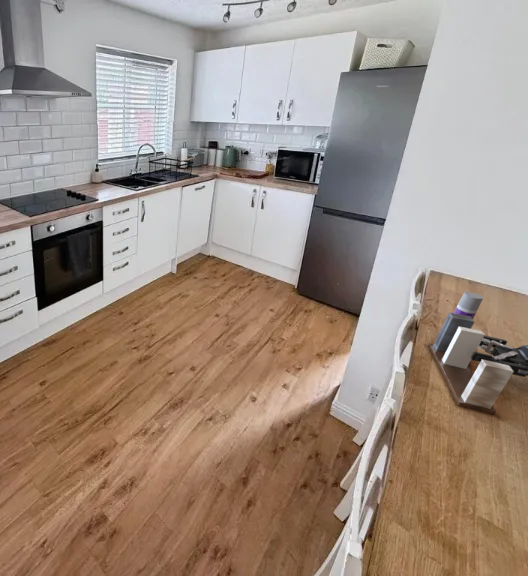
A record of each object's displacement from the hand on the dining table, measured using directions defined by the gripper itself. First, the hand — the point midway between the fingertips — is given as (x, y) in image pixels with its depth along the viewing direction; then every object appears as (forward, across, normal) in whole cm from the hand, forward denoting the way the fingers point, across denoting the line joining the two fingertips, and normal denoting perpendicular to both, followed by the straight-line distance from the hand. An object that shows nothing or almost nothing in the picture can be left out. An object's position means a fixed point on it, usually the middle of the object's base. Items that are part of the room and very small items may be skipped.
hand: (466, 347), depth 97 cm
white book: (+1, 0, +6) cm, 6 cm away
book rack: (+1, +4, +7) cm, 8 cm away
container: (-4, -18, +7) cm, 20 cm away
